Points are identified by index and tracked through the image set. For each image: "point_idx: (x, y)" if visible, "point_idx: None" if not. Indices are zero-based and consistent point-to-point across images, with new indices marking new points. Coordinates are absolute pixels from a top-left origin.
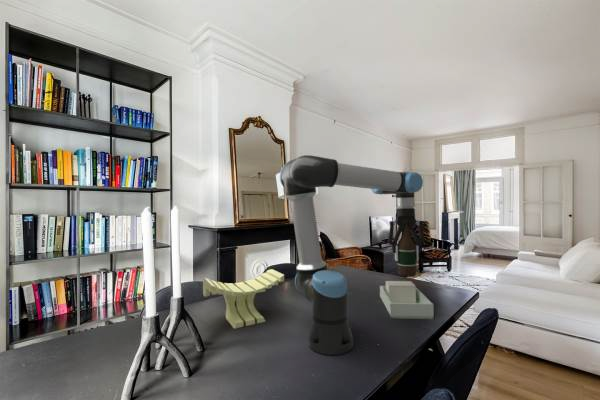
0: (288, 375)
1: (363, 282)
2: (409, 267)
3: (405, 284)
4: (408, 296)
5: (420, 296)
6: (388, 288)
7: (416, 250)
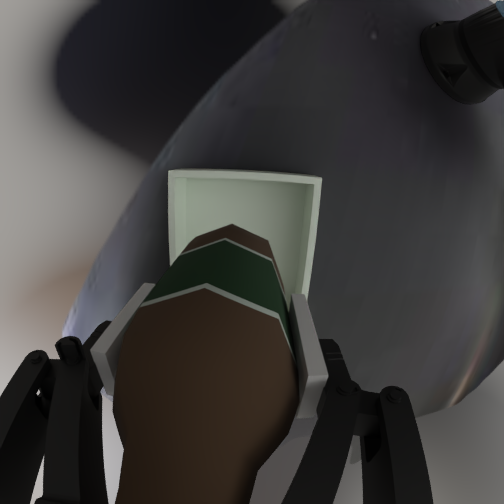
0: None
1: (294, 433)
2: (224, 236)
3: None
4: None
5: None
6: None
7: (124, 330)
